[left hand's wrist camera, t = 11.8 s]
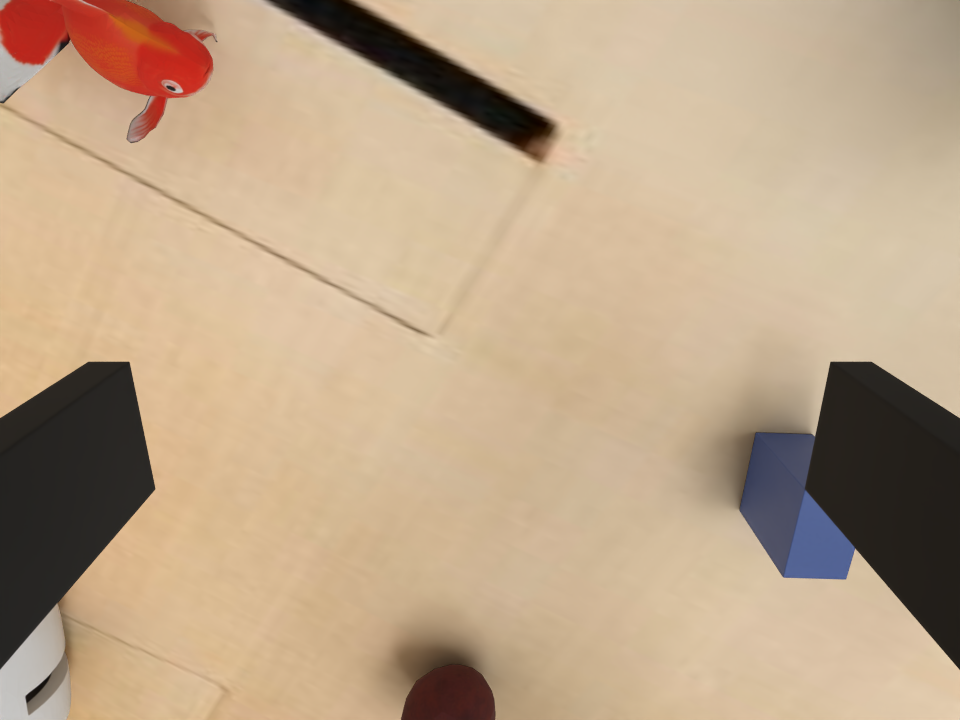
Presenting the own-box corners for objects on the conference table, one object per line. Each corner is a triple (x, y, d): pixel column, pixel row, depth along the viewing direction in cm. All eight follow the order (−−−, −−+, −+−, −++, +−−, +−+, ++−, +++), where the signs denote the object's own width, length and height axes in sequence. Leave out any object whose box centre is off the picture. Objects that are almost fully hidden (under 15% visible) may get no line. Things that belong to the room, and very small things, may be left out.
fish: (158, 231, 37) (11, 143, 27) (-4, 86, 41) (-186, -38, 31) (283, 90, 38) (182, -45, 28) (112, -41, 41) (-31, -202, 31)
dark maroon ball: (391, 690, 56) (379, 768, 49) (438, 630, 53) (432, 703, 47) (464, 724, 57) (462, 805, 50) (513, 667, 55) (518, 743, 48)
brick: (739, 510, 49) (783, 577, 42) (755, 432, 47) (804, 489, 40) (793, 512, 49) (846, 579, 42) (812, 434, 47) (872, 491, 40)
